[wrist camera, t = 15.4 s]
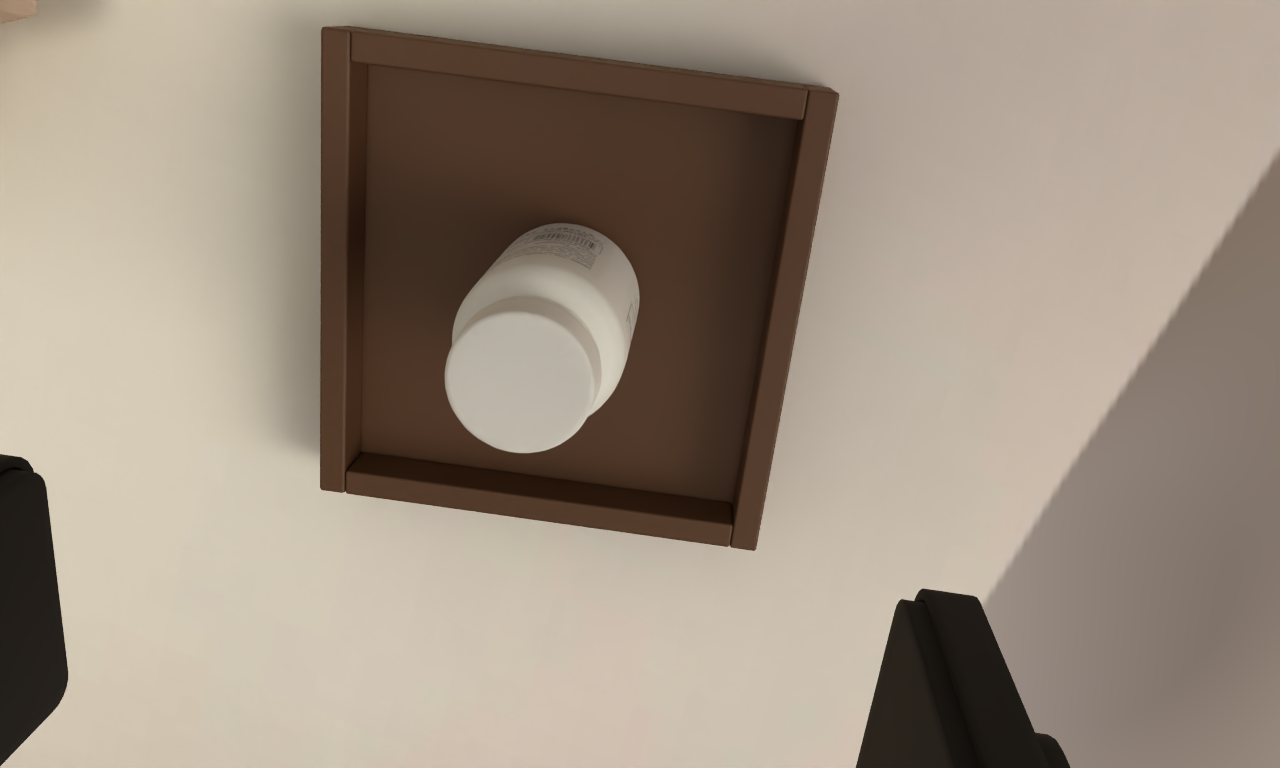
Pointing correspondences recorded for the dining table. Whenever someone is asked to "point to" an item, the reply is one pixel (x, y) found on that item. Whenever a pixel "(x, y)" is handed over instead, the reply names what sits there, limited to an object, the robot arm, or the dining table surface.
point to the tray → (574, 194)
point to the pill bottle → (542, 338)
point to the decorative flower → (16, 9)
